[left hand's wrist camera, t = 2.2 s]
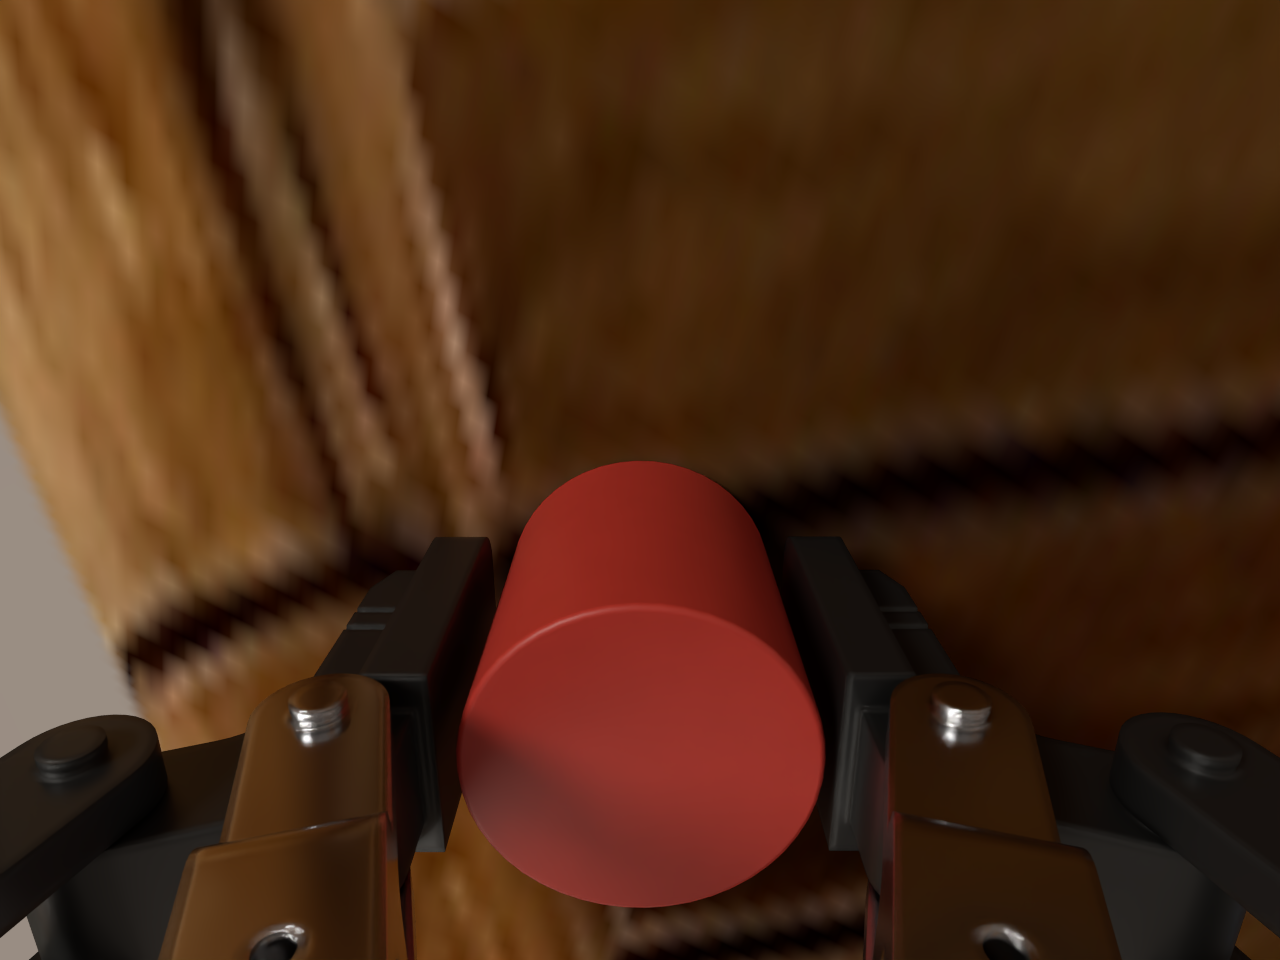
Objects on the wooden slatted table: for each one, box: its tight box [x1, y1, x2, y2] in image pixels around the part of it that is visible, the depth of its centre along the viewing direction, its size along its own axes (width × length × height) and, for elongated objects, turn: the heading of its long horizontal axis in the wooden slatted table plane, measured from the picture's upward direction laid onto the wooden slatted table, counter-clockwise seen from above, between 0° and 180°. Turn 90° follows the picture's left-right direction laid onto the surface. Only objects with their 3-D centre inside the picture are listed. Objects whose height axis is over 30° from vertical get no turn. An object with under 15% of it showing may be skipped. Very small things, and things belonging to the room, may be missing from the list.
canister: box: [456, 461, 826, 908], centre depth 11 cm, size 4×4×4 cm
